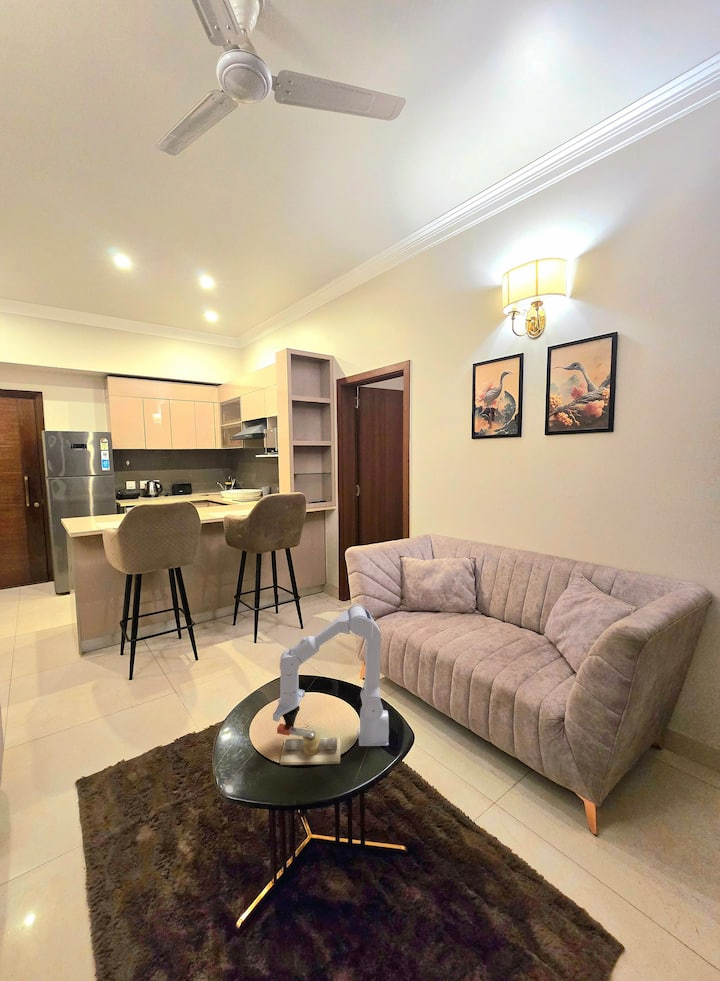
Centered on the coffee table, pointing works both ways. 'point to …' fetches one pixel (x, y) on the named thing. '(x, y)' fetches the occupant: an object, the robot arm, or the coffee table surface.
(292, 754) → the valve fixture
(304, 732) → the valve lever
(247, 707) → the coffee table surface
